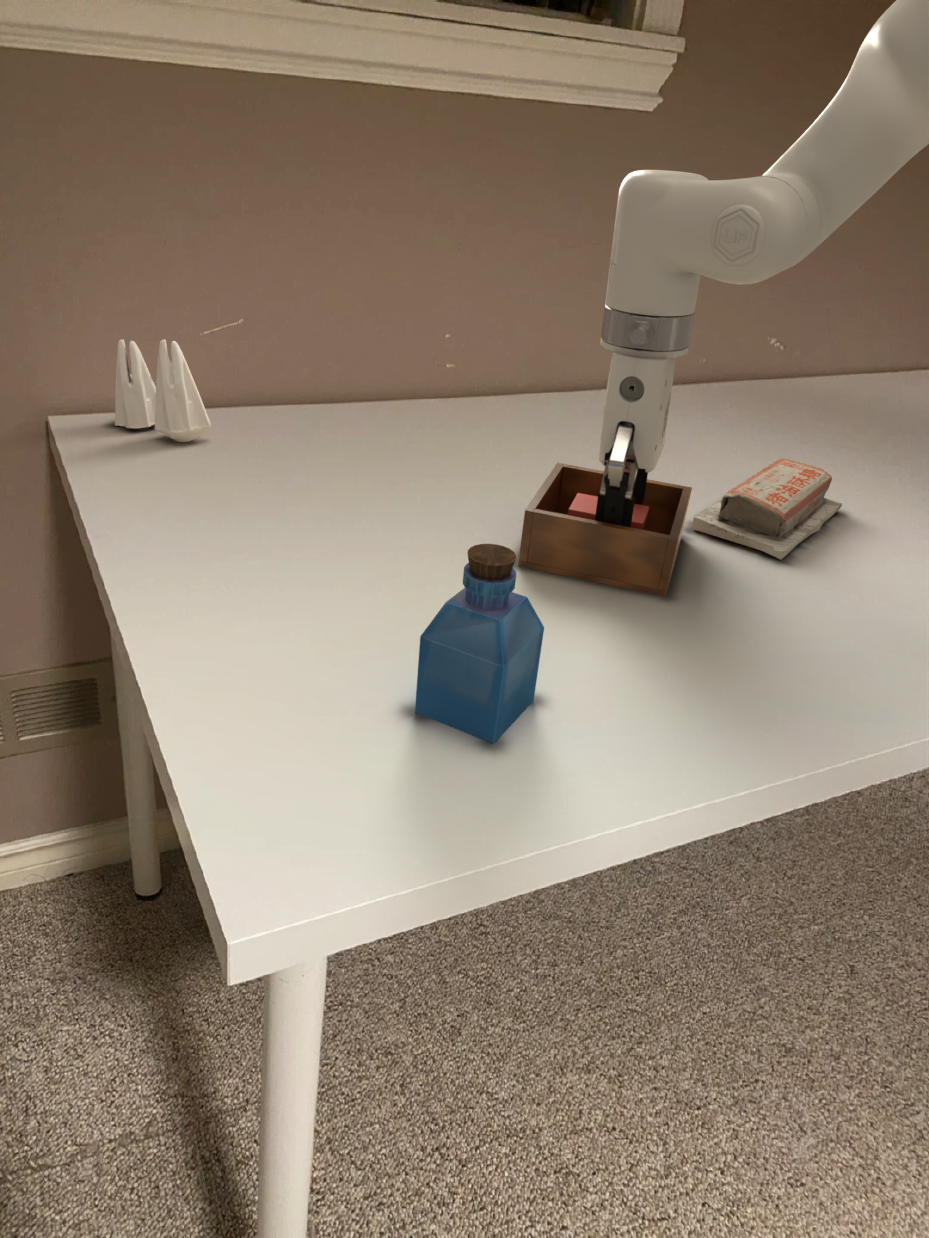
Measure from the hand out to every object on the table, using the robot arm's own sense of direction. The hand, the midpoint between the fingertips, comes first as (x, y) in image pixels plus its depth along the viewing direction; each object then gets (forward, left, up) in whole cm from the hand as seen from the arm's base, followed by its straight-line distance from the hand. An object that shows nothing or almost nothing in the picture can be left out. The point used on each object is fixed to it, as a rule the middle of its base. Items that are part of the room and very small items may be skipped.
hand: (619, 518), depth 89 cm
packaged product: (-14, -16, -4) cm, 22 cm away
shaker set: (+54, -8, -4) cm, 55 cm away
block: (+1, 0, -3) cm, 3 cm away
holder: (+1, 0, -4) cm, 4 cm away
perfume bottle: (+5, +30, -4) cm, 31 cm away
